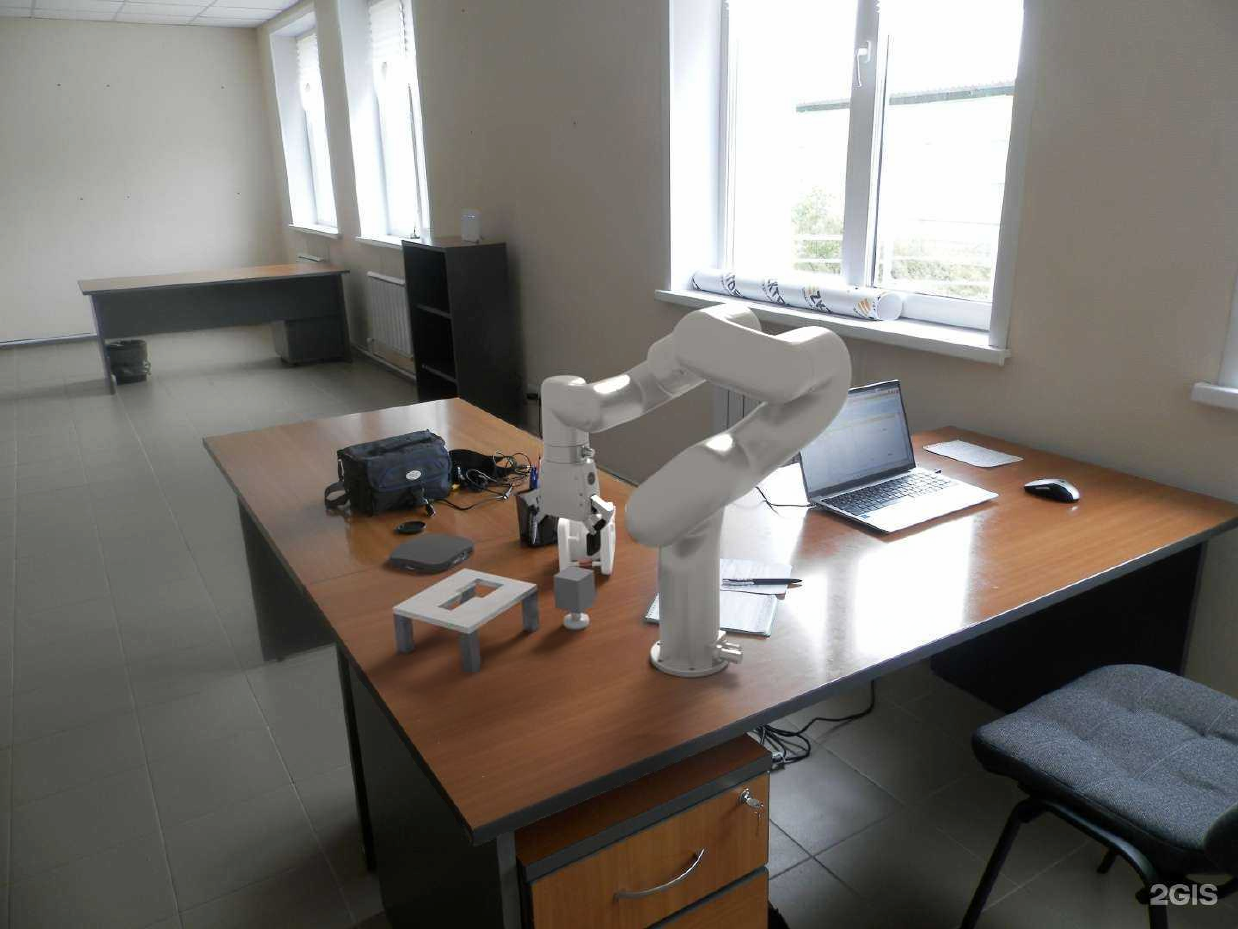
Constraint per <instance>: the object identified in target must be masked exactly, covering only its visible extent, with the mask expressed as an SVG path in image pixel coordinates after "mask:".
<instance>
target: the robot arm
mask: <svg viewBox="0 0 1238 929" xmlns="http://www.w3.org/2000/svg"><path fill="white" fill-rule="evenodd" d="M646 358H647V359H646V360H645V361H642V362H641V363H640V364H638V365H636V366H634V367H632V368H630V369H629V370H627V371H625V372H623V373H621V374H619V375H616V376H612V377H608V378H605V379H602V380H597V381H594V382H590V383H587V382H586V380H585V379H584V378H582V377H581V376H577V375H554V376H550V377H547V378H545V379H544V380H543V382H542V384H541V386H540V393H541V394H540V399H541V424H542V446H543V451H542V452H543V456H542V458H541V459H540V462H539V463H540V464H539V470H538V477H537V478H538V479H537V488H536V489H535V490H532V491H530V492H528V493H525V494H524V495H523V497H524V500H525V502H526V504H527V506H528V510H529V512H530V513H531V515H532V516H533V517H534V518H533V520H534V522H535V523H537V533H538V534H537V535H538V543H539V546H545V545H546V544H548V543H551V542H552V541H553V538H554V536H553V533H554V532H553V520H552V518H551V517H555V518H564V519H569V520H574V521H580V522H583V524H584V525H585V527H586V528H587V529H588V531H589V533H588V534H587V535H586V546H587V555H588V556H592V555H594V554H596V553H597V552H599V551H600V548H601V530H602V529H603V528H604V527H605V526H606V525H607V524H608V523H609V522H610V519H611V517H612V515H613V513H614V510H613V508H611V507H610V506H609V505H607V504H606V503H605V501H604V500H602V499H601V492H600V483H599V477H598V472H597V467H596V463H595V461H594V459H593V458H594V456H595V454H596V450H595V449H594V448H592V447H590V440H589V436H590V435H589V433H590V434H596V433H600V432H603V431H607V430H608V429H611V428H614V427H615V426H619V425H621V424H623V423H624V424H625V423H626V422H630V421H633V420H635V419H638V418H639V417H641V416H643V415H646V414H647V413H649V412H651V411H653V410H655V409H657V408H659V407H660V406H662V405H664V404H667V403H668V402H670V401H671V400H674V399H675V398H678V397H681V395H683V394H685V393H687V392H688V391H690V390H692V389H695V388H696V387H697V386H699V385H702V384H703V383H705V382H710V383H711V384H714V385H717V386H719V387H723V389H727V390H730V391H733V392H734V393H738V394H741V395H743V396H746V397H749V398H752V399H754V400H757V401H760V402H762V403H760V404H759V405H758V406H756V408H755V407H754V409H753V410H752V411H751V412H750V413H749V414H748V415H746V416H745V417H743V418H742V419H741V420H740V421H738V422H737V423H735V424H734V425H733V426H731V427H730V428H728V429H726V430H724V431H722V432H720V433H717V434H714V435H712V436H710V437H708V438H706V439H704V440H701V441H699V442H697V443H695V444H692V445H690V446H689V447H687V448H686V449H684V450H682V451H681V452H680V453H679V454H677V455H675V456H674V457H673V458H672V459H671V460H669V461H668V462H667V463H665V464H664V465H663V466H662V467H661V468H660V469H658V470H657V471H655V473H654V474H652V475H651V476H649V477H648V478H647V479H646V480H644V482H642V483H641V484H639V485H638V487H636V488H635V489H634V490H633V491H632V493H631V494H630V496H629V497H628V499H627V501H626V504H625V506H624V507H625V509H624V521H625V522H624V523H625V526H626V529H627V531H628V532H629V535H630V536H631V537H632V538H633V539H634V540H635V541H636V542H638V543H639V544H640V545H643V546H646V547H648V548H653V549H657V551H658V552H657V577H658V578H657V581H658V582H657V584H658V620H659V621H658V623H659V628H658V629H659V640H658V641H656V642H655V643H654V644H653V645H652V647H651V648H650V652H649V653H650V654H649V656H650V661H651V663H652V664H653V666H654V668H656V669H658V670H659V671H661V672H663V673H665V674H668V675H672V676H676V677H682V678H683V677H684V678H697V677H698V678H699V677H704V676H710V675H713V674H715V673H717V672H719V671H721V670H722V669H724V668H725V667H726V666H727V665H728V664H729V663H732V664H735V665H739V666H740V665H741V664H742V662H743V659H744V653H743V652H742V645H741V644H738V643H737V644H736V643H731V642H729V641H728V640H727V634H726V633H727V632H726V631H725V630H721V627H720V626H721V625H720V624H721V621H720V620H721V615H720V614H721V608H720V607H721V605H720V604H721V601H720V598H721V597H720V596H721V595H720V594H721V591H720V590H721V588H720V581H721V580H720V577H721V575H720V567H721V564H720V563H721V538H722V536H721V535H722V528H723V523H724V517H725V509H726V507H727V506H729V505H731V504H733V503H734V502H736V501H738V500H739V499H741V498H743V497H745V496H746V495H747V494H749V493H750V492H752V491H753V490H754V489H755V488H756V487H758V485H759V484H761V482H763V481H764V480H765V479H767V477H769V476H770V475H771V474H772V473H774V472H775V471H777V470H778V469H780V467H782V466H784V465H786V463H788V462H789V461H790V460H791V459H793V458H794V457H795V456H796V455H797V454H799V453H800V452H801V451H802V450H805V449H806V448H807V447H808V446H810V445H811V444H812V443H813V442H814V441H816V440H817V438H819V437H820V436H821V435H822V434H823V433H824V432H825V431H826V430H827V429H828V428H829V426H830V425H831V424H833V422H834V421H835V420H836V418H837V417H838V416H839V414H840V412H841V411H842V409H843V407H844V405H845V403H846V400H847V398H848V396H849V392H850V388H851V384H852V383H851V382H852V363H851V362H852V361H851V357H850V353H849V349H848V347H847V346H846V344H845V342H844V340H843V338H841V337H840V336H839V335H838V334H837V333H836V332H834V331H833V330H830V329H828V328H825V327H820V326H807V327H805V326H804V327H800V328H796V329H793V330H790V331H786V332H783V333H780V334H777V335H769V334H766V333H764V332H762V326H761V322H760V320H759V319H758V317H757V315H756V314H755V313H754V312H753V311H752V310H751V309H750V308H748V307H746V306H744V305H742V304H738V303H733V302H732V303H731V302H730V303H729V302H728V303H723V304H719V305H714V306H710V307H704V308H701V309H698V310H693V311H691V312H689V313H687V314H685V316H683V317H682V318H681V319H680V320H679V321H678V323H677V324H676V325H675V327H674V329H673V331H672V332H671V333H669V334H667V335H666V336H664V337H662V338H660V339H658V340H657V341H656V342H654V343H652V345H651V346H650V347H649V349H648V351H647V356H646ZM590 457H591V458H590ZM596 514H602V516H601V519H599V518H598V516H597V515H596ZM590 519H591V520H590ZM591 521H592V522H593V523H592V522H591ZM593 524H594V525H593Z"/></svg>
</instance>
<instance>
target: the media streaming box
mask: <svg viewBox="0 0 1238 929" xmlns="http://www.w3.org/2000/svg"><path fill="white" fill-rule="evenodd" d="M474 547H475V545H474V542H473V540H471V539H468V538H465V537H463V536H460V535H454V534H448V533H447V534H446V533H445V534H444V533H435V534H427V535H420V536H415V537H413V538H410V539H407V540H406V541H404V542H402V543H401V544H399V545H397V546H395V548H393V549H392V550H391V551H390V552H389V562H390V565H391V566H392V567H394V568H398V569H404V570H408V571H413V572H414V571H415V572H418V573H419V572H420V573H426V574H437V573H442V572H443V573H444V572H446V571H449V570H451V569H452V568H454V567H455V566H457V565H459V564H461V563H462V562H464V561H466V560H467V559H469V558H470V557H472V556H473V555H474V554H475V548H474Z"/></svg>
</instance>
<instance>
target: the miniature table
mask: <svg viewBox="0 0 1238 929" xmlns="http://www.w3.org/2000/svg"><path fill="white" fill-rule="evenodd" d="M476 585H481V586H486V587H490V588H496V590H495V589H494V590H493V591H492V592H490V593H488V594H486V595H485V596H484V597H479V596H476V587H475V586H476ZM538 597H539V596H538V584H535V583H531V582H527V581H522V580H518V579H514V578H509V577H504V576H500V575H496V574H492V573H487V572H482V571H477V570H473V569H470V568H463V569H461V570H459V571H457V572H455V573H453V574H452V575H450V576H448V577H445V578H444V579H443V580H440V581H438V582H437V583H435V584H432V585H431V586H430V587H428V588H426V589H424V590H422V591H421V592H419V593H417V594H415V595H413V596H411V597H409V598H408V599H406V600H404V601H402V602H400V603H399V604H397V605H395V606H393V607H392V614H393V616H392V617H393V622H394V631H395V638H396V639H395V640H396V648H397V653H400V654H404V655H408V654H410V653H411V652H413V651H414V650H416V645H415V643H416V642H415V637H414V628H413V627H414V626H413V625H414V624H413V620H416V621H421V622H425V623H427V624H432V625H435V626H439V627H442V628H447V629H449V630H454V631H458V633H459V645H460V655H461V665H462V672H464V673H467V674H470V675H474V674H475V673H476V672H479V670H481V669H482V667H481V654H480V643H479V642H480V641H479V634H478V629H479V628H481V627H483V625H485V624H487V623H488V622H490V621H492V620H493V619H495V618H496V617H498V616H499V615H501V614H502V613H504V612H505V611H507V610H508V609H511V608H512V607H513V606H514V605H516V604H518V603H519V602H521V613H522V614H521V615H522V627H523V629H522V630H524V631H529V632H531V633H533V632H535V631H536V630H538V629H539V628H540V627H541V625H540V611H539V598H538ZM458 601H459V604H460V605H459V606H457V607H455V608H453V609H452V610H450V609H447V608H448V607H450V606H452V605H453V604H455V603H458ZM412 619H413V620H412Z"/></svg>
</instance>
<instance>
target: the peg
mask: <svg viewBox="0 0 1238 929" xmlns="http://www.w3.org/2000/svg"><path fill="white" fill-rule="evenodd" d="M595 583H596V582H595V570H594V569H593V570H592V569H587V568H584V567H580V566H579V567H578V566H568V567H567V568H565V569H564V570H562V571H561V572H560V571H559V572H558V573H556V574H555V575H553V591H554V608H555V609H556V610H557V609H558V610H561V611H566V612H569V614H567V615H565V616H564V617H563V626H564V628H566V629H568V630H574V631H575V630H581V629H584V628H585V629H586V628H587V627H588V626H590V625H589V624H590V617H589V615H587V614H586V613H583V612H585V611H586V610H587V609H588V608H590V607H591V606H593V605H594V604H596V591H595V587H596V586H595V585H596V584H595Z"/></svg>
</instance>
